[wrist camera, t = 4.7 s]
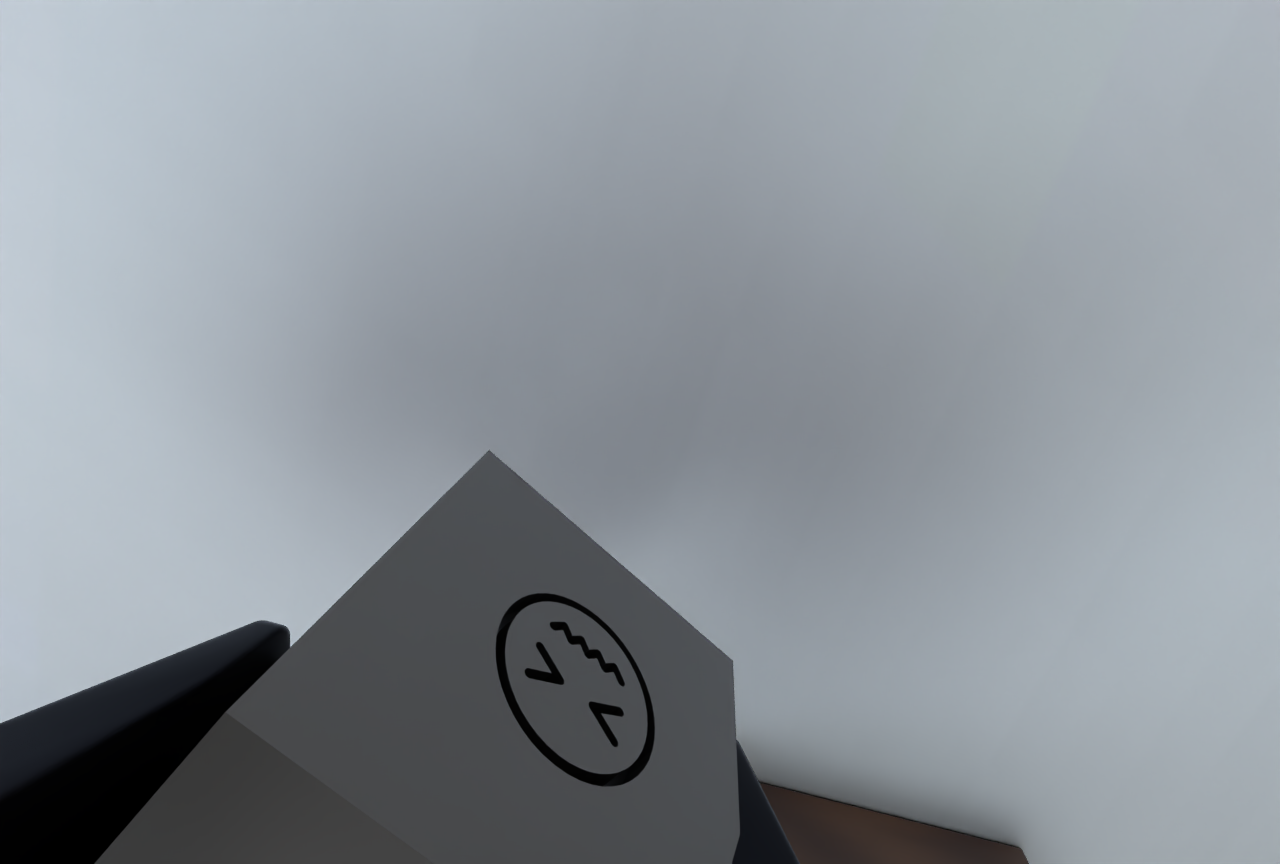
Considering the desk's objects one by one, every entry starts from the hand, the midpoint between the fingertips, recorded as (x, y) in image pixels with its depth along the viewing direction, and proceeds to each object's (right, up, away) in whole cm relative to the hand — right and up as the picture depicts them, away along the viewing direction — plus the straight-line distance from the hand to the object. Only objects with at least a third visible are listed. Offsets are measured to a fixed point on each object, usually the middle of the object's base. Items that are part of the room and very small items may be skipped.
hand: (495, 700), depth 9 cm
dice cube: (0, 0, +1) cm, 1 cm away
